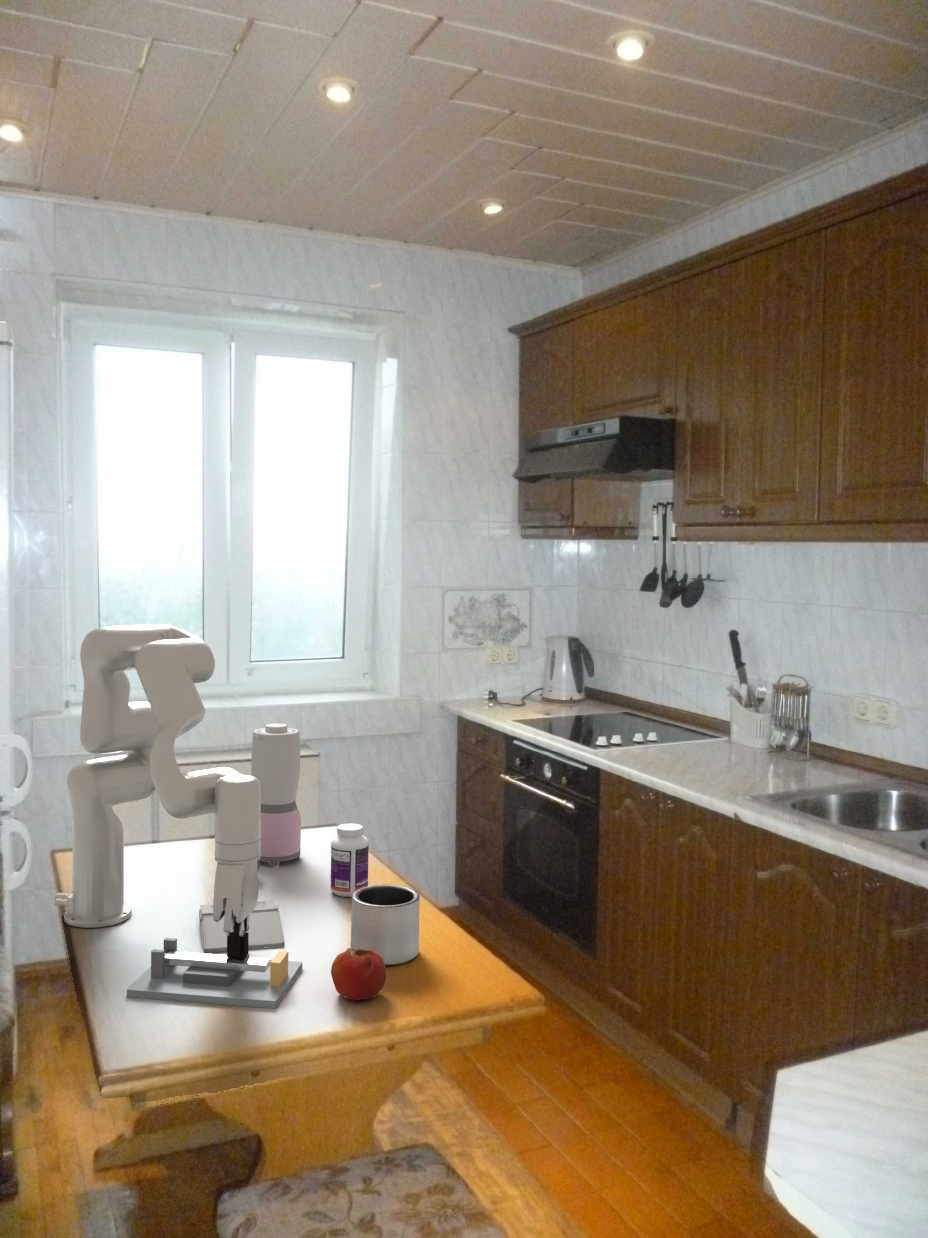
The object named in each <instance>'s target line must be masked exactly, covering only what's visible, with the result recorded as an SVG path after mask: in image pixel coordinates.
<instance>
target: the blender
mask: <svg viewBox="0 0 928 1238" xmlns="http://www.w3.org/2000/svg"><path fill="white" fill-rule="evenodd" d="M251 740H252V741H251V755H250V757H251V762H250V763H251V765H250V766H251V769H250V770H251V773H250V774H251V776H254V777H256V778H257V779H258V780H259V782H260V786H261V858H260V862H264V863H265V862H266V863H268V867H269V868H277V867H279V866H280V865H279V864H280V862H286V861H287V862H288V861H292V860H295V859H300V858H301V849H302V848H301V835H302V819H301V817H302V816H301V813H300V811H299V808H298V805H297V803H296V801H297V800H296V799H297V794H298V793H297V792H298V787H299V783H300V782H299V780H300V773H301V736H300V731H299V730H298V729H296V728H294V727H293V728H292V727H289V726H288V725H287V724H286V723H267V724H266V725H265V726H264V727H261V728H258V729H254V731H253V732H252V739H251Z"/></svg>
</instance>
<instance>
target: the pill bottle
mask: <svg viewBox="0 0 928 1238" xmlns="http://www.w3.org/2000/svg"><path fill="white" fill-rule="evenodd" d="M363 832H364V827H363V825H362V824H360V823H359V824H358V823H352V822H350V823H342V824H339V825H337V826H336V834H337V835H336V836H334V837H333V838H332V840H331V843H330V891H331V892H332V893H333V894H334V895H335V896H339V897H344V898H352V894H353V893H354V892H355V891H356V890H358V889H361V888H363V887H367V886H369V849H370V848H369V840H368V837H366V836H364V835H363Z"/></svg>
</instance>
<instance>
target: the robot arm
mask: <svg viewBox="0 0 928 1238" xmlns="http://www.w3.org/2000/svg"><path fill="white" fill-rule="evenodd" d="M81 642H82V643H81V645H80V652H79V657H80V666H81V671H82V672H81V673H82V678H83V692H82V693H83V694H82V702H81V703H82V704H81V714H80V715H81V717H80V725H79V726H80V727H79V729H80V730H79V739H80V743H81V744H80V745H81V746H82V749H84V751H85V752H86V753H90V754H92V755H93V754H94V755H106V754H115V753H116V754H117V753H120V752H123V753H124V752H128V753H125V754H118V755H110V756H103V757H96V758H91V759H87V760H83V761H81V762H78V763H77V764H75V765H74V766H72V768H71V769H70V770H69V771H68V774H67V776H66V788H67V789H66V790H67V795H68V799H69V805H70V812H71V824H72V826H71V829H72V832H71V833H72V836H71V838H72V858H71V859H72V864H71V865H72V873H71V874H72V884H71V885H72V889H71V890H72V891H71V893H66V892H65V893H64V892H57V893H55V895H54V906H55V907H65V908H66V911H65V912H64V913H63V921H64V923H66V924H67V925H69V926H72V927H74V928H75V927H76V928H82V929H83V928H84V929H94V928H105V927H106V928H107V927H111V926H113V925H115V926H116V925H118V924H120V923H122V922H124V921H126V920H128V919H129V918H131V916H132V912H133V911H132V909H133V908H132V907H131V905H129V904H127V903H126V902H124V899H125V898H124V893H125V891H124V890H125V889H124V886H125V885H124V881H125V880H124V879H125V878H124V877H125V876H124V875H125V874H124V870H125V861H124V860H125V858H124V857H125V855H124V854H125V853H124V851H125V849H124V848H125V845H124V844H125V838H124V837H125V830H124V825H123V822H122V821H121V819H120V818H119V816H118V815H117V814H116V812H115V811H114V809H113V806H117V805H121V804H126V803H132V802H137V801H141V800H144V799H147V798H149V797H152V795H153V794H154V793H155V791H156V794H157V797H158V798H159V801H160V803H161V805H162V807H163V809H164V810H165V812H167V814H168V815H169V816H171V817H173V818H175V819H189V818H193V817H194V818H195V817H198V816H202V815H209V814H213V813H214V861H215V862H216V867H215V875H214V876H215V877H214V884H213V885H214V886H213V900H212V901H213V903H212V904H213V920H214V921H215V922H218V921H220V920H221V919H222V918H223V917H224V916H225V917H224V932H226V934H227V951H226V955H227V957H228V958H232V959H245V958H246V956H247V955H248V953H249V949H248V933H247V932H248V930H249V916H250V913H251V912H252V911H253V910H254V908H255V907H256V905H257V902H258V901H259V872H258V869H257V860H259V859H260V858H261V786H260V782H259V780H258V779H257V778H256V777H254V776H252V775H250V774H242V773H240V772H239V771H237V770H236V769H234V768H232V767H228V766H220V767H214V768H213V767H212V768H206V769H199V770H194V771H193V770H192V771H187V772H181V769H180V767H179V765H178V762H177V759H176V756H175V750H174V749H175V742H176V739H177V738H179V737H181V736H183V735H184V734H186V733H187V732H190V731H191V730H192V729H194V728H195V727H196V726H197V725H199V724H200V723H201V722H202V720H203V719H204V718H205V716H206V715H205V714H206V709H205V705H204V704H203V700H202V699H201V696H200V694H199V692H198V690H197V686H196V685H195V684H201V683H205V682H207V681H209V680H210V679H211V678H212V677H213V675H214V673H215V669H216V662H215V656H214V654H213V651H212V648H210V646H209V645H208V644H207V643H206V642H205V641H204V640H203V639H202V638H200V637H198V636H197V635H194V634H192V633H190V632H188V631H185V630H183V629H181V628H178V627H176V626H173V625H172V624H171V625H170V624H162V623H160V624H154V623H153V624H129V625H125V624H124V625H123V624H122V625H112V626H109V625H108V626H104V627H98V628H94V629H92V630H90V631H89V632H88V633H87V634H86V635H85V636H84V637H83V640H82V641H81ZM125 671H136V673H137V675H138V678H139V681H140V684H141V686H142V689H143V690H144V694H145V696H146V699H147V701H145V700H143V701H142V700H140V701H139V700H138V701H130V696H131V695H130V693H131V683H130V679H129V677H128V675H127V674H126V672H125Z"/></svg>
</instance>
